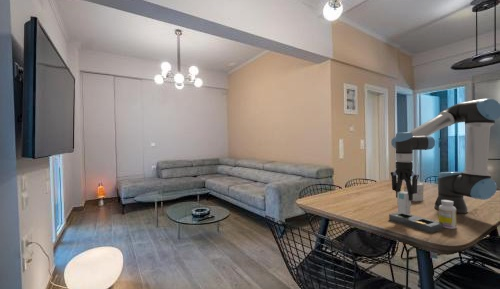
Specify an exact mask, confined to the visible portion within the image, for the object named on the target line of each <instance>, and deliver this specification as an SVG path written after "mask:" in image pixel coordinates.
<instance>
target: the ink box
mask: <svg viewBox="0 0 500 289" xmlns="http://www.w3.org/2000/svg"><path fill="white" fill-rule="evenodd" d="M411 185H412V179H411ZM424 186H425V185H424V183H421V181H418V180H417V193H416V194H413V200H412V201H411V202H421V201H424ZM403 191H404V192H408V191H407V186H406V182H404V183H403Z"/></svg>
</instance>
